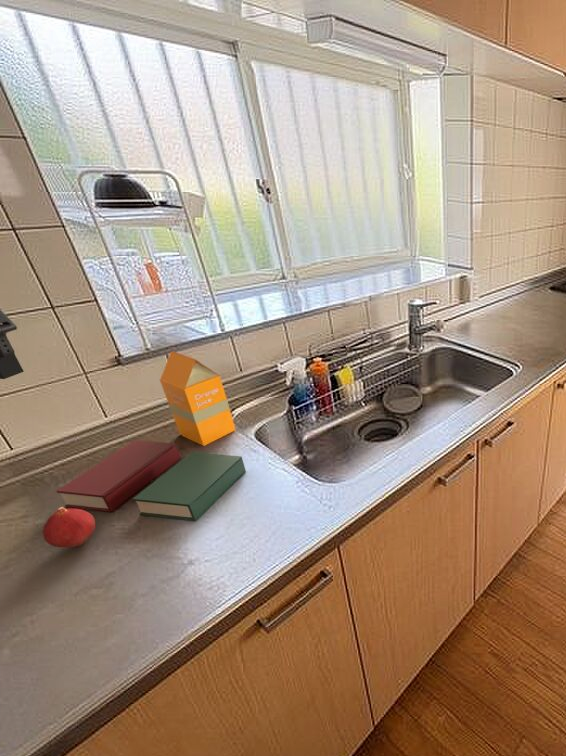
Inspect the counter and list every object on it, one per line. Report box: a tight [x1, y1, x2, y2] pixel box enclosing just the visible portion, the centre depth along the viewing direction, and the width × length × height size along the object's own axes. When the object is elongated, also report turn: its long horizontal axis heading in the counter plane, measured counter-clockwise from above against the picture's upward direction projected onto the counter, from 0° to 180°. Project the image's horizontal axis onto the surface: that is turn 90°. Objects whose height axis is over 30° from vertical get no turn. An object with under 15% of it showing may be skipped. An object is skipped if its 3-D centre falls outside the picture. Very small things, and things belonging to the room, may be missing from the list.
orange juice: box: [159, 350, 236, 447], centre depth 94 cm, size 8×9×20 cm
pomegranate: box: [42, 506, 96, 548], centre depth 68 cm, size 6×6×8 cm
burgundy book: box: [56, 439, 182, 513], centre depth 82 cm, size 9×16×4 cm, turn 175°
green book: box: [132, 451, 247, 522], centre depth 81 cm, size 10×14×4 cm
